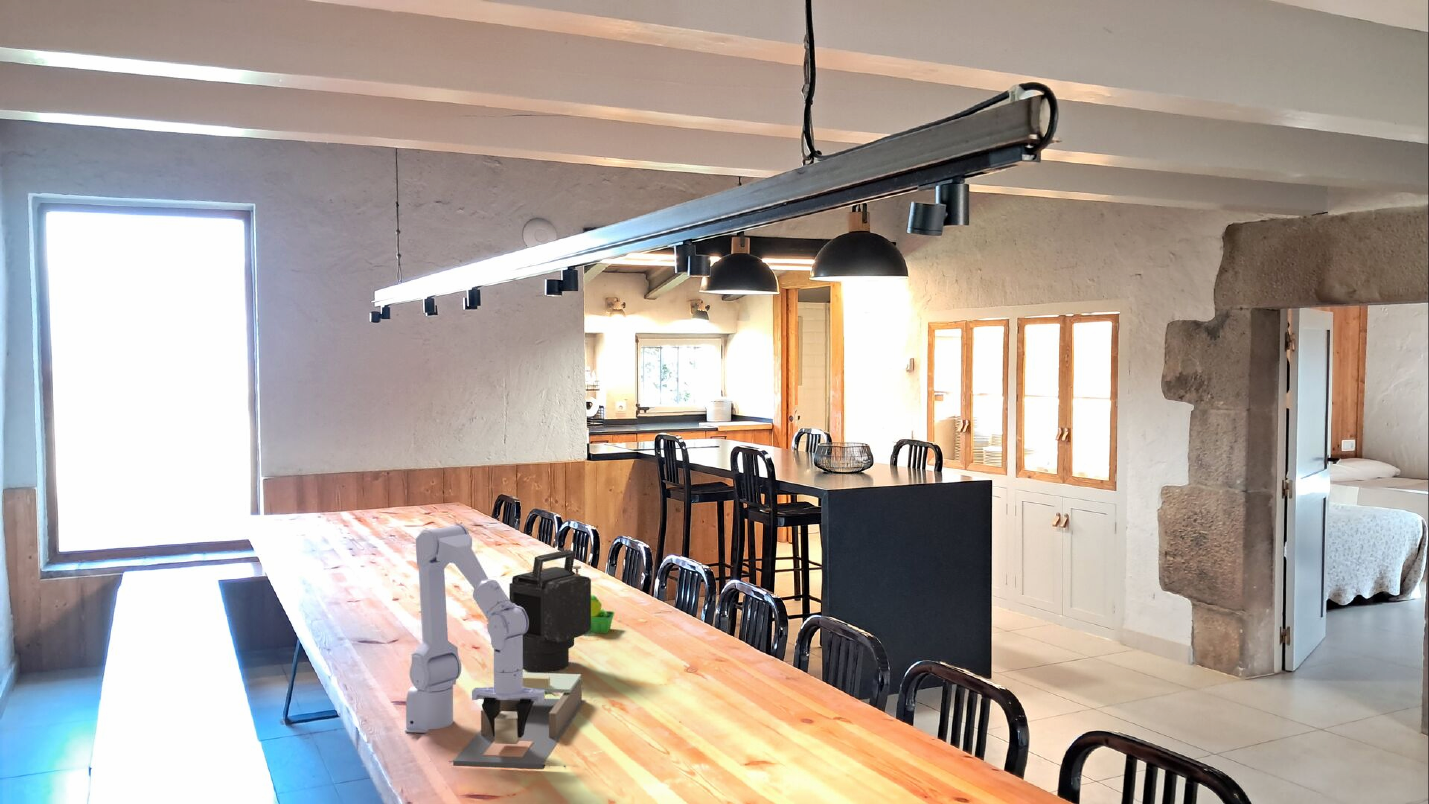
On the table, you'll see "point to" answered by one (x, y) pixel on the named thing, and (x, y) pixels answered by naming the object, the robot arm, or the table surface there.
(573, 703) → the board
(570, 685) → the lid
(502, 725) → the block
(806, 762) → the table surface
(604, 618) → the fruit basket
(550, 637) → the lantern
